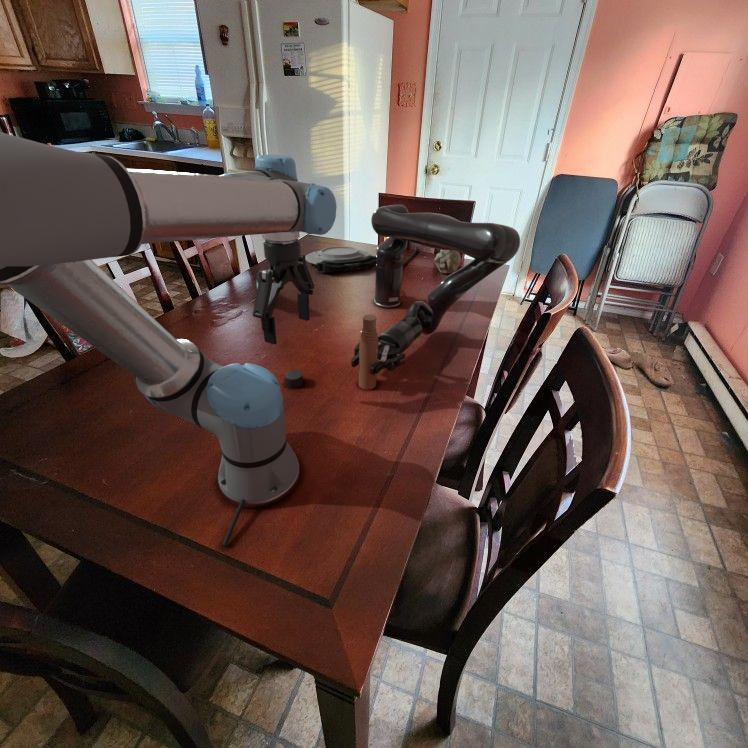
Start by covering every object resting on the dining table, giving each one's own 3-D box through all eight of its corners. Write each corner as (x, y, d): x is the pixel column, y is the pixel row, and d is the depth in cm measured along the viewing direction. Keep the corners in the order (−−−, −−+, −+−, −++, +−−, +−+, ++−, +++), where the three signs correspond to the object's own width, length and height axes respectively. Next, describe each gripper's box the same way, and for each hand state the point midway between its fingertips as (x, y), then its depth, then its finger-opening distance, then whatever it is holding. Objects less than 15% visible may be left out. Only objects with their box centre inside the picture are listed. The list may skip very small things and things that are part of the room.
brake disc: (383, 271, 172) (384, 260, 169) (312, 276, 164) (311, 265, 161) (363, 248, 197) (363, 238, 194) (300, 252, 189) (300, 241, 187)
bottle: (377, 380, 109) (381, 314, 98) (374, 390, 105) (377, 322, 94) (360, 378, 110) (362, 311, 98) (356, 388, 106) (358, 320, 95)
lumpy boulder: (466, 272, 181) (459, 270, 167) (441, 276, 185) (433, 276, 172) (463, 245, 179) (455, 242, 166) (438, 251, 184) (429, 248, 170)
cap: (299, 376, 109) (298, 368, 108) (305, 385, 106) (304, 376, 105) (283, 380, 107) (282, 372, 106) (289, 389, 104) (288, 381, 103)
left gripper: (258, 258, 75) (268, 358, 86) (327, 229, 94) (328, 313, 106) (225, 251, 77) (240, 349, 89) (299, 224, 96) (303, 307, 108)
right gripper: (374, 320, 115) (338, 346, 103) (420, 335, 108) (387, 364, 97) (373, 343, 119) (338, 370, 107) (418, 359, 113) (386, 390, 101)
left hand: (288, 330), depth 97 cm, fingers open, 13 cm apart
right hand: (362, 367), depth 102 cm, fingers open, 5 cm apart
